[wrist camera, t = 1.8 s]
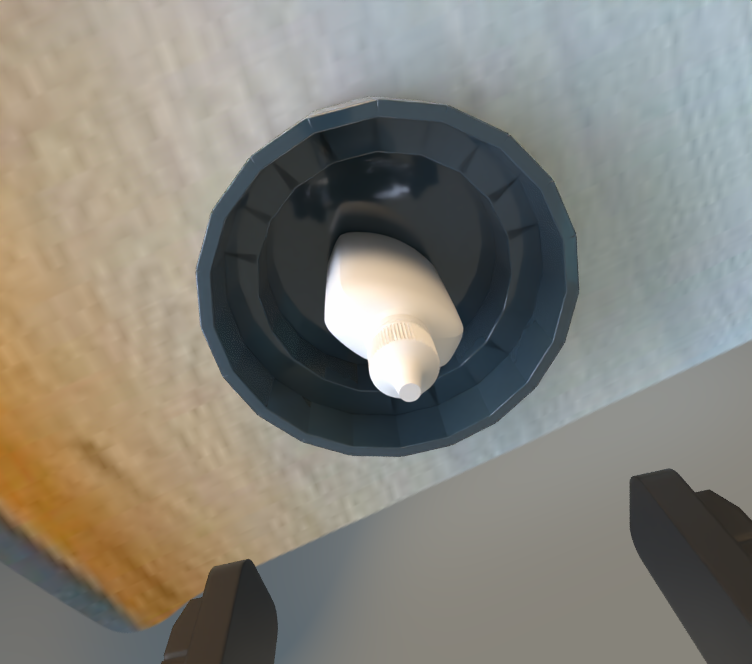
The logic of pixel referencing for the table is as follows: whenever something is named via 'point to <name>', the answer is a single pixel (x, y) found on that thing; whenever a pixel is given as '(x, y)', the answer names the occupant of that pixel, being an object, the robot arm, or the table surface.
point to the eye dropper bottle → (391, 312)
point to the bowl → (409, 225)
